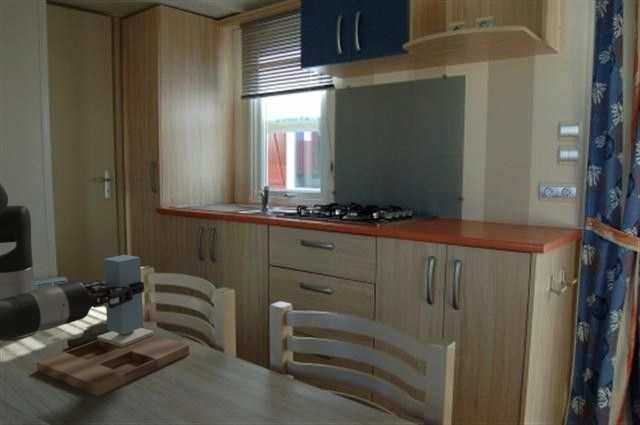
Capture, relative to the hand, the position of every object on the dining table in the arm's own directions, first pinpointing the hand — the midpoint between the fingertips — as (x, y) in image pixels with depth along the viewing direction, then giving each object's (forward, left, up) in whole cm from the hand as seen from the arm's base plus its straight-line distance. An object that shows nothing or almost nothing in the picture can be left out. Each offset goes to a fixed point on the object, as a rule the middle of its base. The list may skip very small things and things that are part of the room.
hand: (133, 284), depth 103 cm
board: (-6, -1, -18) cm, 20 cm away
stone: (-22, +6, -19) cm, 30 cm away
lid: (-12, +6, -16) cm, 21 cm away
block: (0, -3, -9) cm, 9 cm away
